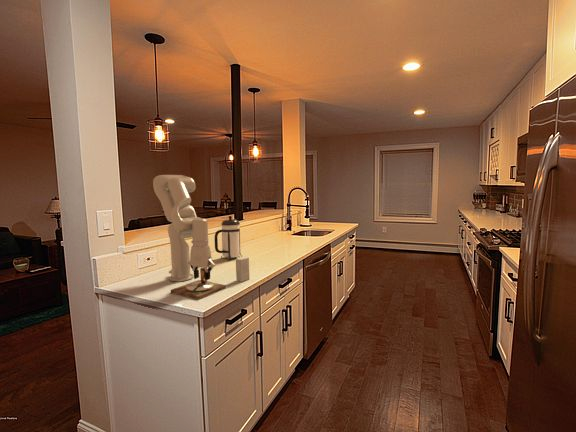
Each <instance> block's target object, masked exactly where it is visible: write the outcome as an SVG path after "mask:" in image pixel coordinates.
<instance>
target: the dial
mask: <svg viewBox="0 0 576 432" xmlns="http://www.w3.org/2000/svg"><path fill="white" fill-rule="evenodd" d="M199 268H200V269H199V271H200V272H199V275H200V280H201V281H199V282H194V281H193V282H194V283H192V282H189V283H190V284H189V283H187V284H188V285H187V286H186V289H187V290H188V291H192V292H200V291H206V290H210V289H212V288H213V287H214V283H215V282H213V281H209V280H205V272H206V271H205V268H204V267H199Z"/></svg>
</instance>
